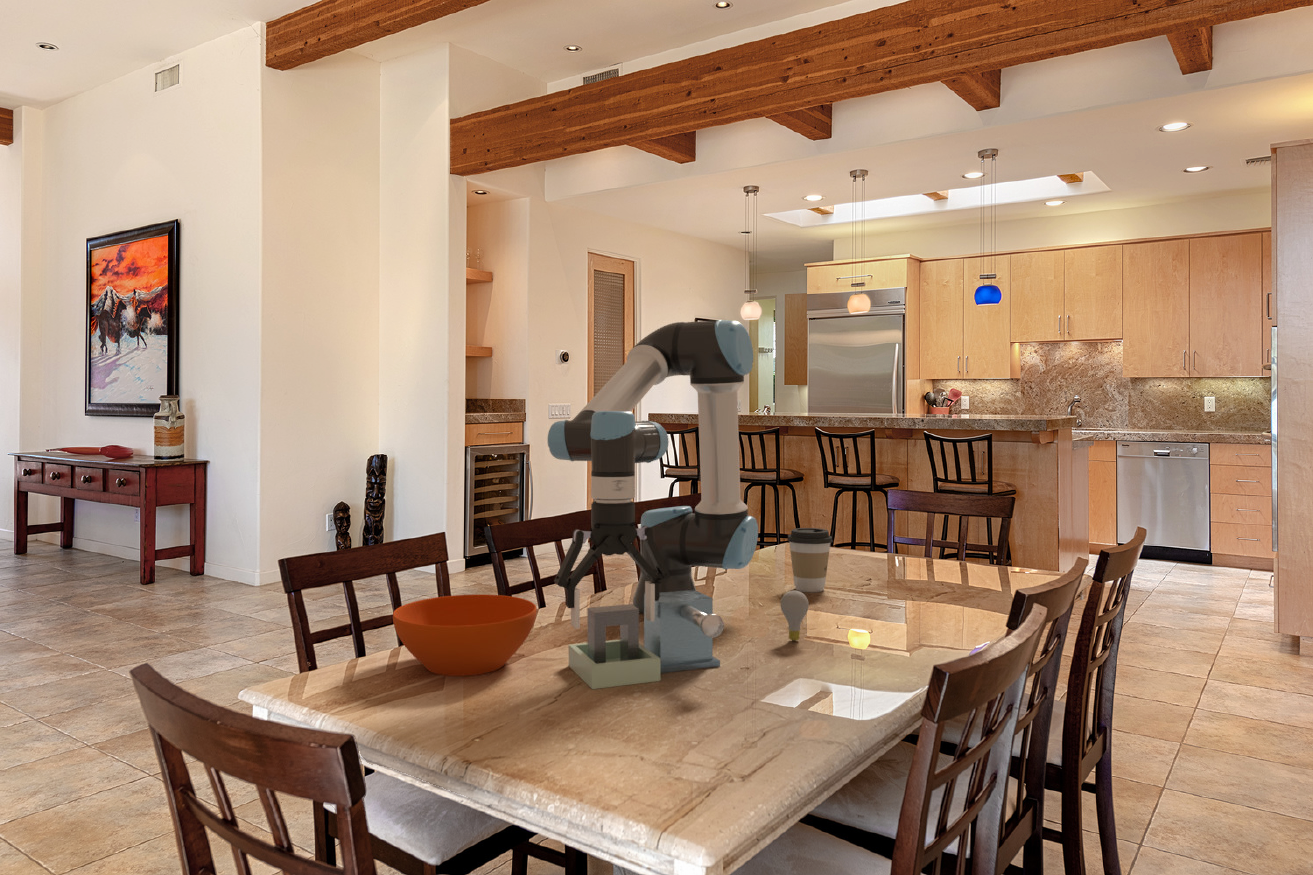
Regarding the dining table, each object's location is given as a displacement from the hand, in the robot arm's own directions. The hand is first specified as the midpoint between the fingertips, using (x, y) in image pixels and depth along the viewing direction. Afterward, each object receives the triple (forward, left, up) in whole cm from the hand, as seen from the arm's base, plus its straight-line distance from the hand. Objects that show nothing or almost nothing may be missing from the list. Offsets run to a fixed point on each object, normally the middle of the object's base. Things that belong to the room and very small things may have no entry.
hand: (613, 623), depth 154 cm
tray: (0, 0, -9) cm, 9 cm away
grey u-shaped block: (0, 0, -8) cm, 8 cm away
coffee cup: (-49, +69, -9) cm, 85 cm away
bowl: (-15, -23, -9) cm, 29 cm away
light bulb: (-7, +40, -9) cm, 42 cm away
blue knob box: (+3, +13, -9) cm, 16 cm away
